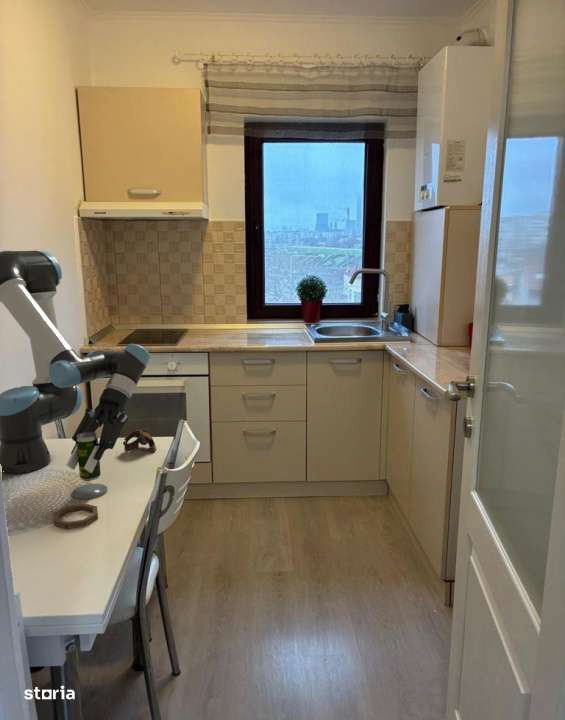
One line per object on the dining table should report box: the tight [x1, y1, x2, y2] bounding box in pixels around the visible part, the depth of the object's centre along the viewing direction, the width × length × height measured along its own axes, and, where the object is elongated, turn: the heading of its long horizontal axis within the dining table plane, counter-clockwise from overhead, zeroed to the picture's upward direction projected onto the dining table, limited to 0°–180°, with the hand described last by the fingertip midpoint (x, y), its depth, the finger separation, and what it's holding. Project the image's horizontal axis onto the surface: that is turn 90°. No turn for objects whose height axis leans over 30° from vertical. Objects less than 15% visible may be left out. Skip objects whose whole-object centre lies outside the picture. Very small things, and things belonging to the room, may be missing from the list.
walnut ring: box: [53, 503, 99, 531], centre depth 134 cm, size 10×10×2 cm
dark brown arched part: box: [122, 428, 157, 453], centre depth 180 cm, size 12×10×8 cm
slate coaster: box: [71, 482, 108, 500], centre depth 149 cm, size 9×9×1 cm
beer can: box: [77, 431, 101, 482], centre depth 147 cm, size 5×5×12 cm
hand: (79, 468), depth 144 cm, fingers closed on beer can, 5 cm apart
